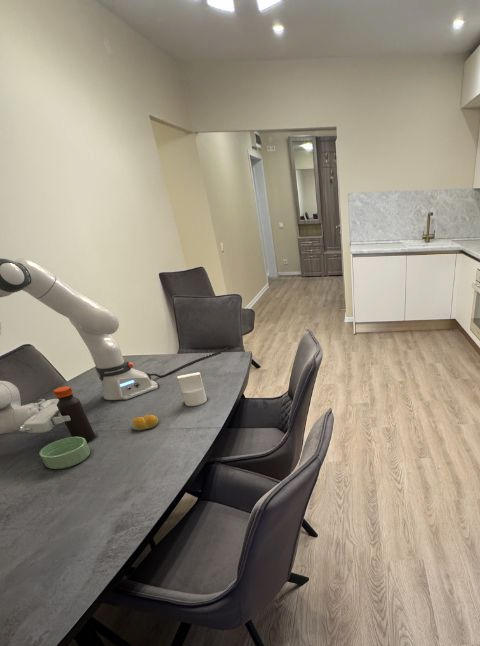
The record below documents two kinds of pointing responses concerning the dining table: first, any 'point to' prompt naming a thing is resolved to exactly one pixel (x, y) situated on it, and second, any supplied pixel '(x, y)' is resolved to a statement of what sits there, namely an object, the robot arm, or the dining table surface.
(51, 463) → the bowl
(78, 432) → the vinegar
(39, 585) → the dining table surface
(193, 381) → the cylinder with rectangular tab
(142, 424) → the bread roll
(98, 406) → the dining table surface
